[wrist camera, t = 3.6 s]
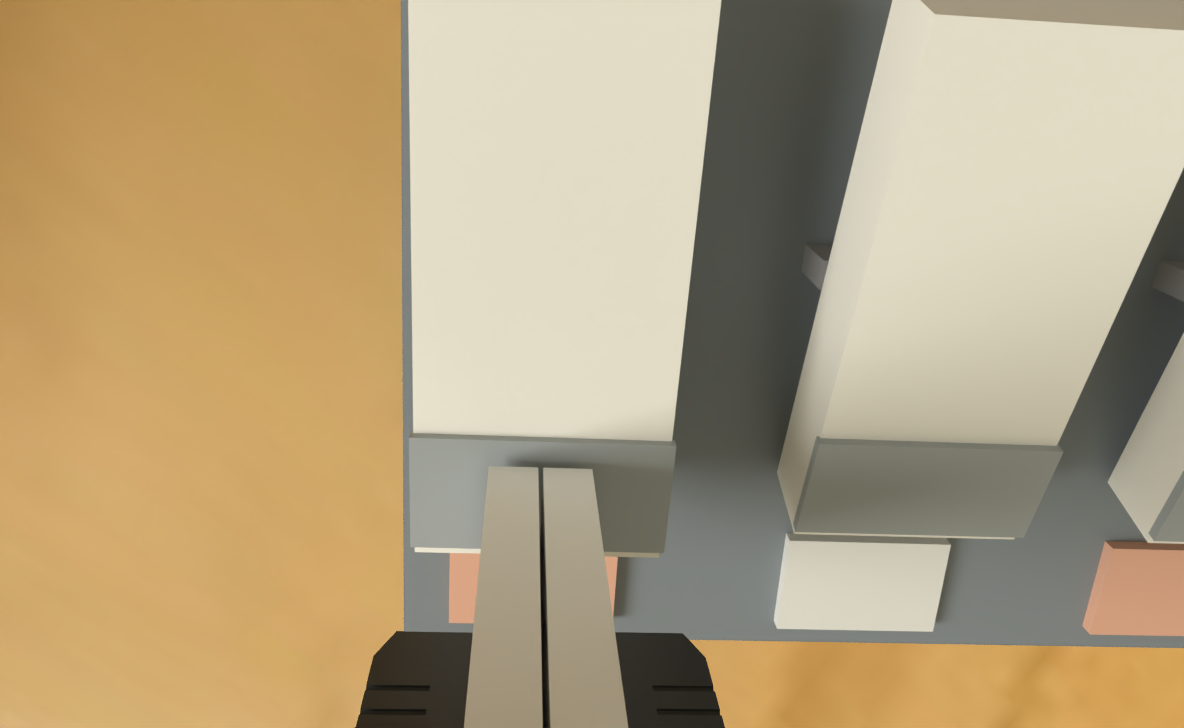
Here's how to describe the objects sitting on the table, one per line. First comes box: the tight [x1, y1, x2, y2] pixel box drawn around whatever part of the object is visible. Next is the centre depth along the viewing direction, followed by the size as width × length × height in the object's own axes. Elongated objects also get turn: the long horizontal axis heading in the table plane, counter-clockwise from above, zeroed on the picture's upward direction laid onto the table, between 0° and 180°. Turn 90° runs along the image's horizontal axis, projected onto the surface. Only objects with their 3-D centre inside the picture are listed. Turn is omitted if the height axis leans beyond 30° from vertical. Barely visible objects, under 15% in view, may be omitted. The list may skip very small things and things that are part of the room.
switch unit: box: [401, 0, 1184, 648], centre depth 19 cm, size 16×18×6 cm
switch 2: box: [777, 0, 1184, 540], centre depth 16 cm, size 9×4×2 cm, turn 176°
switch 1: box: [408, 0, 721, 558], centre depth 15 cm, size 9×4×2 cm, turn 176°
